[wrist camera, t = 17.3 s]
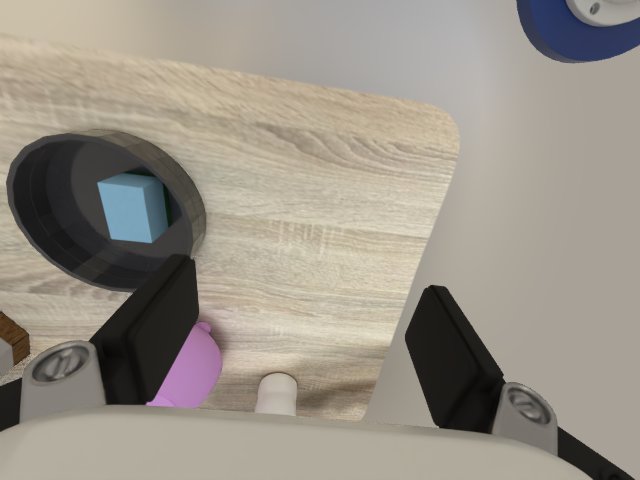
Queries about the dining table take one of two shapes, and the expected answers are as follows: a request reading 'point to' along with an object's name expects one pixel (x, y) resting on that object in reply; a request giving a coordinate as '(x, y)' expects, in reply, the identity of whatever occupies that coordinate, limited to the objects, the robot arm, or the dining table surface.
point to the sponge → (135, 206)
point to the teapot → (191, 371)
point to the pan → (98, 206)
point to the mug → (11, 344)
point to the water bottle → (277, 395)
